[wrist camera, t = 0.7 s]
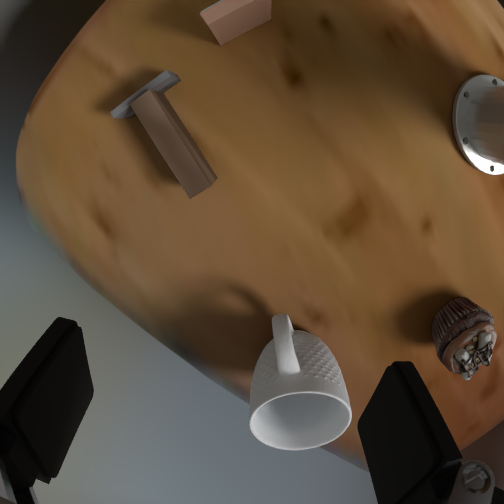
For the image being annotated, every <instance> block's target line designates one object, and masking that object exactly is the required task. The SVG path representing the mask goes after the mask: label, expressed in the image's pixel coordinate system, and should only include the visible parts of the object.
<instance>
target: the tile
mask: <svg viewBox="0 0 504 504" xmlns="http://www.w3.org/2000/svg"><path fill="white" fill-rule="evenodd" d="M271 7H272V0H220V1H219V2H217V3H215V4H213V5H211V6H209V7H208V8H206V9H204V10H202V11H201V13H199V14H200V15H201V17H202V18H203V20H204V21H205V23H206V24H207V26H208V27H209V29H210V31H211V32H212V34H213V35H214V37H215V38H216V40H217V41H218V42H219V44H220V45H221V46H222V45H224V44H225V43H227V42H229V41H231V40H232V39H234V38H236V37H238V36H240V35H242V34H244V33H245V32H247V31H249V30H251V29H253V28H255V27H257V26H259V25H261V24H263V23H265V22H267V21H269V20H271Z"/></svg>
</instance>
